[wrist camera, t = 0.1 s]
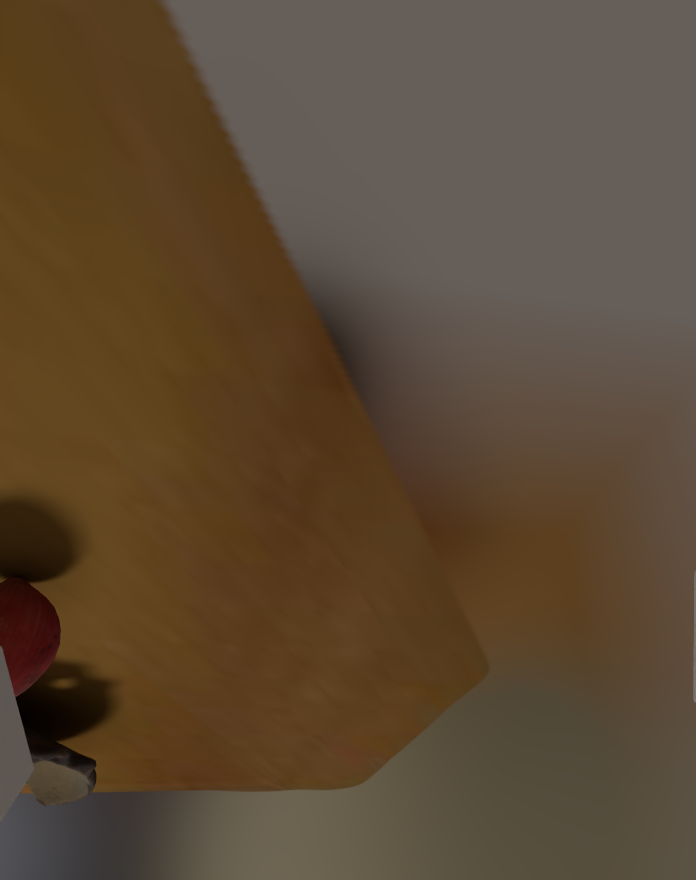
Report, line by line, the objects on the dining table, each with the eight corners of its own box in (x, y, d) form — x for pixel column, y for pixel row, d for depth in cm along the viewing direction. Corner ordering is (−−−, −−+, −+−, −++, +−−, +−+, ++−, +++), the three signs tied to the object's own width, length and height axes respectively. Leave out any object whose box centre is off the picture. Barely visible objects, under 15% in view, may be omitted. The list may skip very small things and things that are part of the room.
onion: (87, 571, 38) (57, 711, 32) (52, 610, 41) (18, 743, 36) (-18, 543, 35) (-71, 691, 29) (-48, 587, 38) (-100, 728, 33)
